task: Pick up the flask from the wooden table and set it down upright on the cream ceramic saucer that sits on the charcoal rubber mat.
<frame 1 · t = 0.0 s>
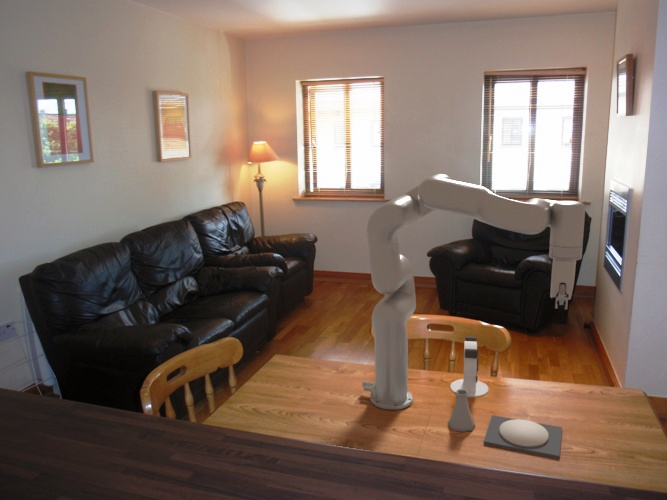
hand: (561, 317, 146), 31 cm above the table, tool pointing down, fingers open, 9 cm apart
white upright piece: (469, 389, 176), on the table
flask: (461, 426, 156), on the table
saucer mat: (523, 436, 149), on the table
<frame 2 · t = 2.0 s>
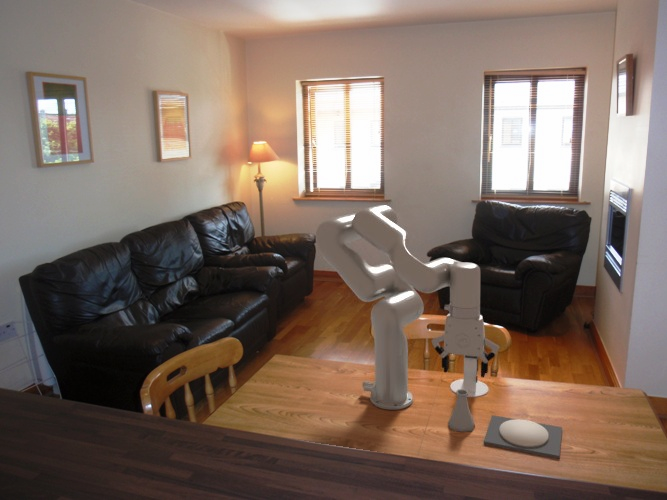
hand: (464, 372, 152), 16 cm above the table, tool pointing down, fingers open, 9 cm apart
nothing on the table moved.
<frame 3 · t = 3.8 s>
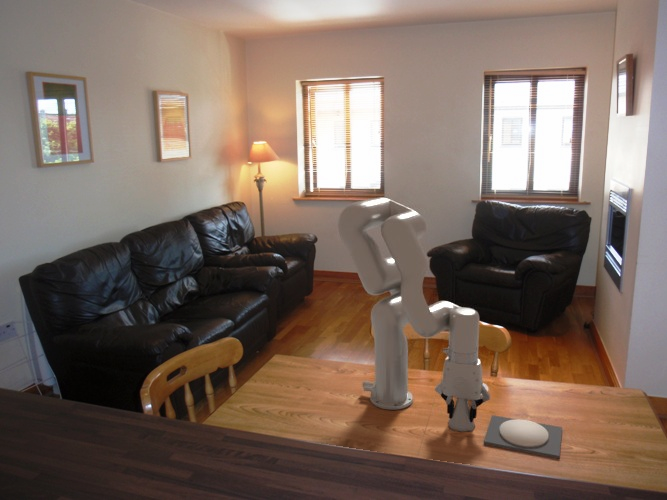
hand: (461, 417, 155), 2 cm above the table, tool pointing down, fingers closed on flask, 4 cm apart
flask: (461, 426, 156), on the table, touching gripper
everything else where it was.
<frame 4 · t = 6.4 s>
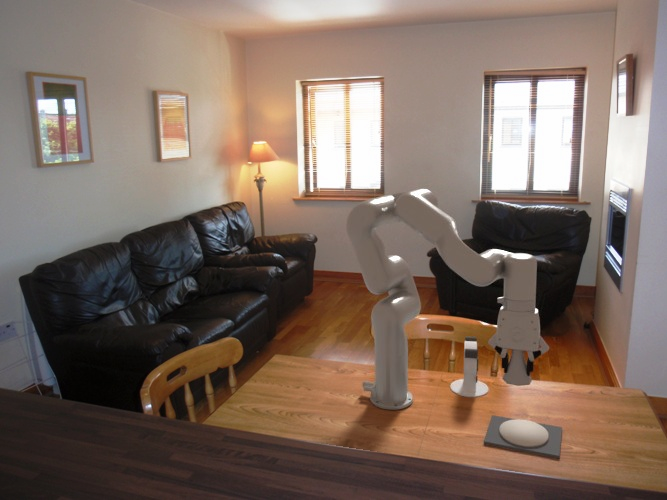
hand: (517, 371, 146), 18 cm above the table, tool pointing down, fingers closed on flask, 4 cm apart
flask: (516, 381, 147), point 15 cm above the table, touching gripper
everything else where it was.
when the fingers open (5 cm above the table, at t = 9.3 s): flask drops 1 cm, resting on saucer mat.
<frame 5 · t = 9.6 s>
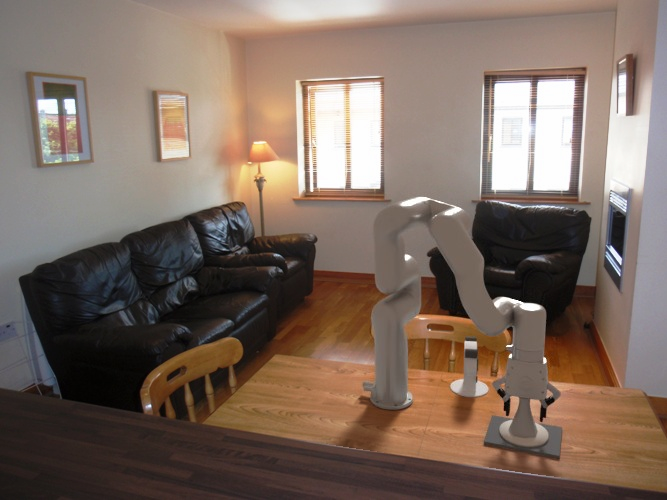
hand: (524, 416, 148), 6 cm above the table, tool pointing down, fingers open, 7 cm apart
flask: (522, 431, 149), point 1 cm above the table, touching saucer mat
everything else where it was.
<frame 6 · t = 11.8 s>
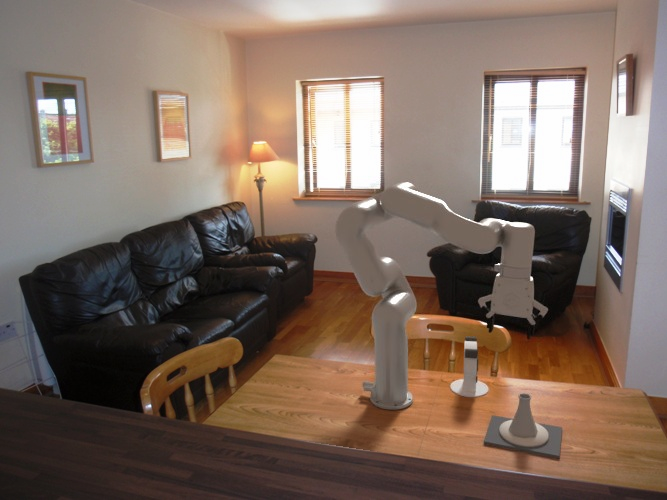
hand: (509, 334, 151), 26 cm above the table, tool pointing down, fingers open, 9 cm apart
nothing on the table moved.
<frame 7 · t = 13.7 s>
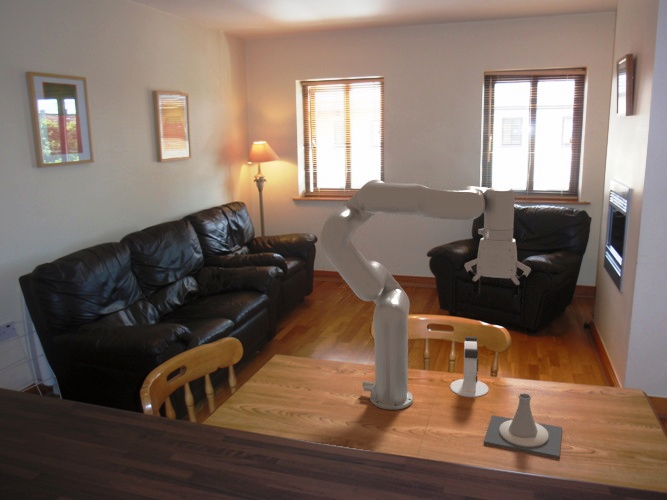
hand: (495, 295, 157), 33 cm above the table, tool pointing down, fingers open, 9 cm apart
nothing on the table moved.
at the end: flask inside the target area on the saucer mat (0.2 cm from its centre), point 1.4 cm above the saucer mat's base; flask tilted 0°; the gripper is holding nothing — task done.
